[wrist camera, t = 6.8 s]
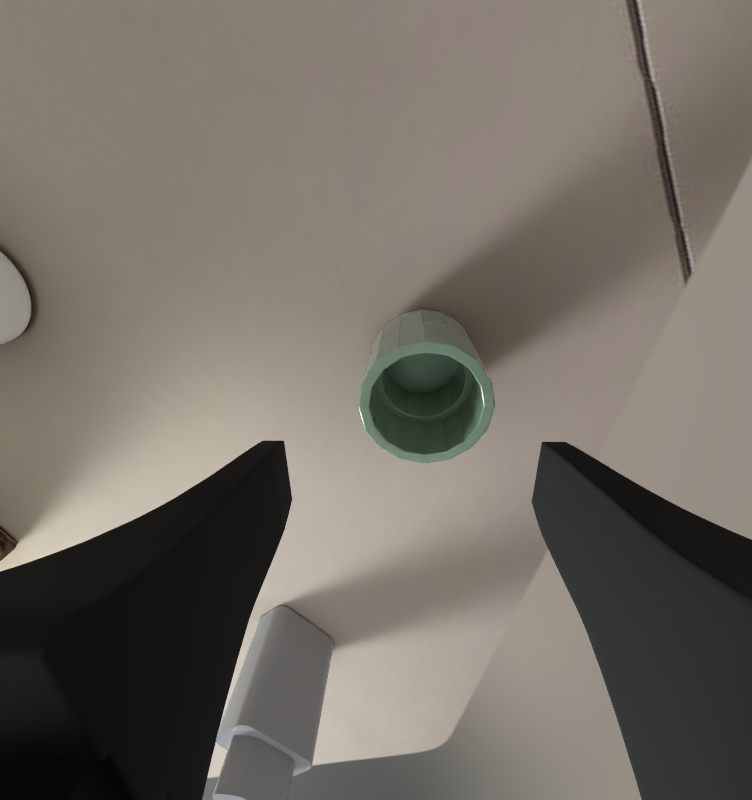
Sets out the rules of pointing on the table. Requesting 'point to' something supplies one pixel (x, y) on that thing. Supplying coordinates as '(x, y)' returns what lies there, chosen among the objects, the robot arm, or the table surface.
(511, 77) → the table surface
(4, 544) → the book
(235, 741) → the power adapter
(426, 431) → the green faceted cup
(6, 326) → the drinking glass
